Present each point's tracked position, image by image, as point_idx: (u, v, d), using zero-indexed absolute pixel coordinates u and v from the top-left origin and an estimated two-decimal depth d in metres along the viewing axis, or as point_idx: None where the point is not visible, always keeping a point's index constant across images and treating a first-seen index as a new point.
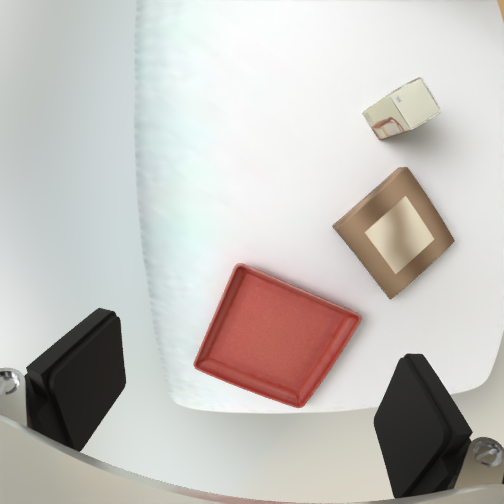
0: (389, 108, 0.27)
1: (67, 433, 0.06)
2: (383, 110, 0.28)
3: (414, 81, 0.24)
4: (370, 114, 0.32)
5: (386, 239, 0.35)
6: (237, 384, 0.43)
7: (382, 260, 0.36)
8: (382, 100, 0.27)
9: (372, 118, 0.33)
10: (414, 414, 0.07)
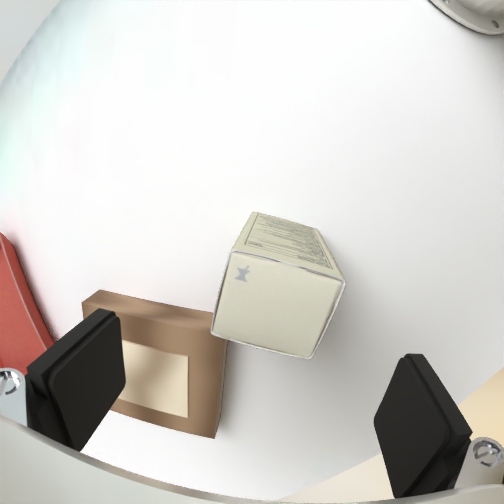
0: None
1: (67, 433, 0.06)
2: None
3: (320, 276, 0.12)
4: None
5: (127, 366, 0.23)
6: None
7: None
8: (237, 239, 0.14)
9: None
10: (414, 414, 0.07)
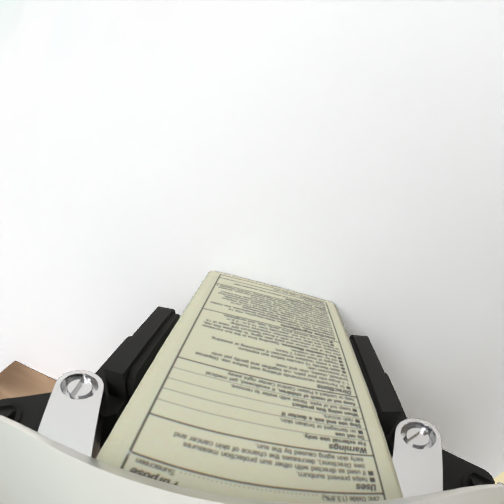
0: None
1: None
2: None
3: None
4: None
5: None
6: None
7: None
8: (112, 431, 0.04)
9: None
10: None
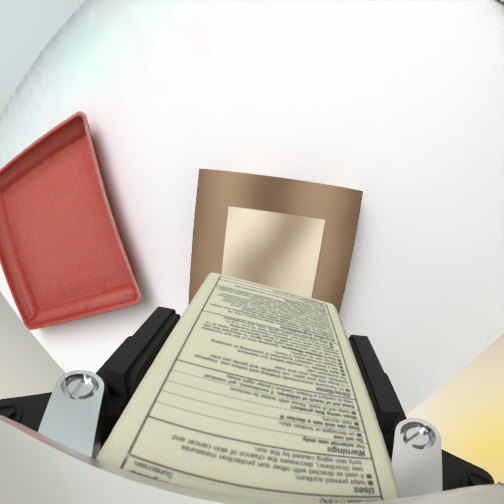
0: None
1: None
2: None
3: None
4: None
5: (247, 243, 0.23)
6: None
7: (219, 263, 0.23)
8: (111, 434, 0.04)
9: None
10: None
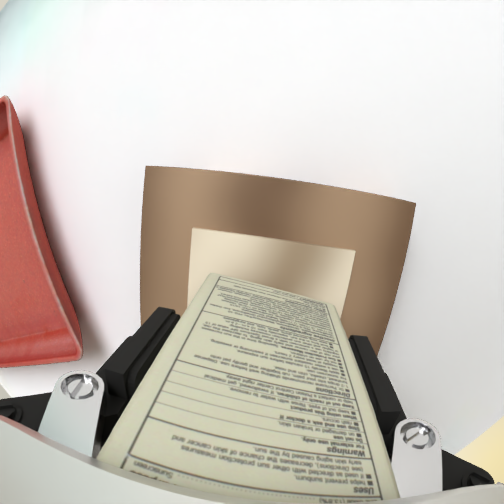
0: None
1: None
2: None
3: None
4: None
5: None
6: None
7: None
8: (111, 434, 0.04)
9: None
10: None
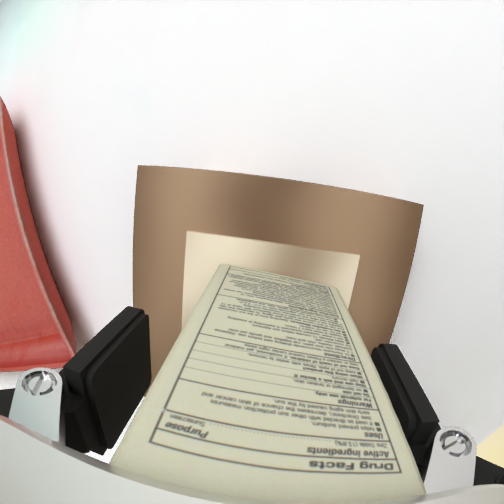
0: None
1: (100, 431, 0.06)
2: None
3: None
4: None
5: None
6: None
7: (177, 324, 0.14)
8: None
9: None
10: None
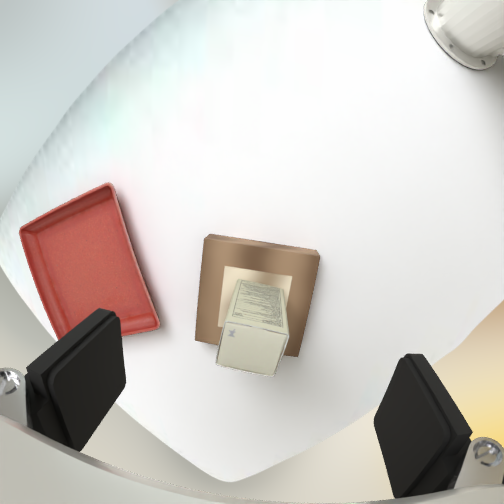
0: None
1: (67, 433, 0.06)
2: None
3: (274, 332, 0.22)
4: None
5: None
6: (34, 276, 0.35)
7: (218, 303, 0.33)
8: (228, 311, 0.24)
9: None
10: (414, 414, 0.07)
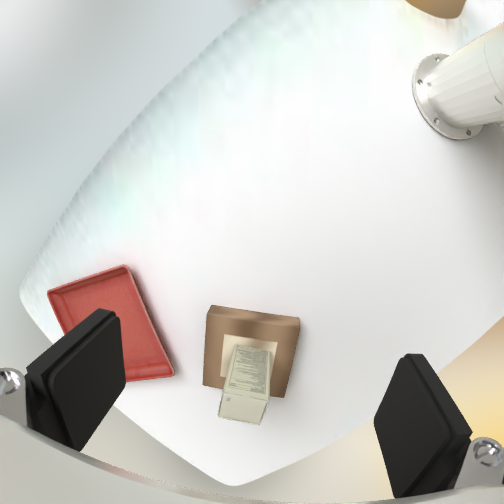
0: (223, 390, 0.32)
1: (67, 433, 0.06)
2: (225, 380, 0.33)
3: (258, 399, 0.30)
4: None
5: None
6: (64, 330, 0.43)
7: (220, 360, 0.41)
8: (225, 381, 0.32)
9: None
10: (414, 414, 0.07)
